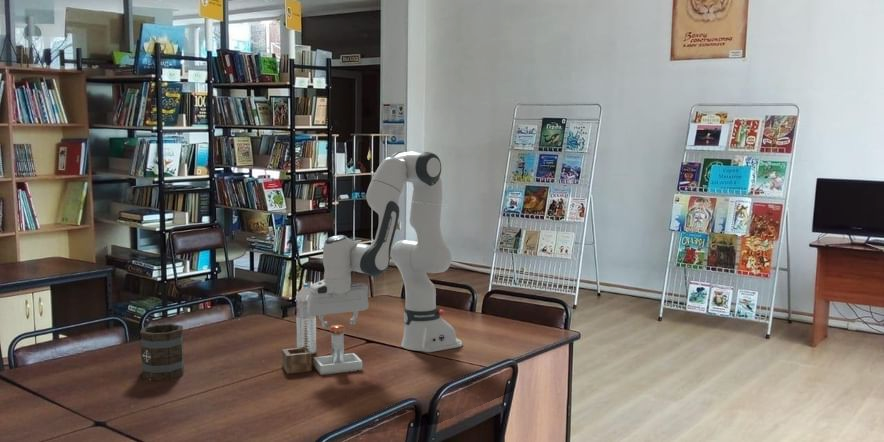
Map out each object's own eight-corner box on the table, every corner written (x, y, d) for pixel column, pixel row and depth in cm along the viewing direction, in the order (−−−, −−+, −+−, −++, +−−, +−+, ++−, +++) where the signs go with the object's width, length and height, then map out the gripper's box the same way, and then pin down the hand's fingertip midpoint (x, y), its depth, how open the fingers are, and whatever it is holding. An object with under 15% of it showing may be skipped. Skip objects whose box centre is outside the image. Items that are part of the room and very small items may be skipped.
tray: (354, 361, 264) (354, 353, 263) (362, 370, 254) (362, 361, 254) (313, 366, 258) (313, 357, 258) (320, 374, 249) (320, 365, 249)
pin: (343, 363, 259) (342, 324, 258) (347, 367, 255) (346, 327, 253) (329, 365, 258) (328, 325, 256) (332, 369, 253) (331, 329, 252)
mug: (191, 375, 247) (189, 330, 246) (147, 383, 240) (146, 336, 238) (172, 360, 263) (170, 318, 261) (131, 367, 255) (129, 323, 254)
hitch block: (306, 364, 260) (305, 346, 260) (311, 371, 253) (311, 353, 252) (282, 366, 257) (282, 349, 257) (286, 373, 250) (286, 355, 249)
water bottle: (312, 356, 269) (311, 286, 266) (293, 355, 271) (292, 285, 268) (319, 350, 276) (318, 282, 273) (301, 349, 277) (300, 281, 274)
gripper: (365, 280, 260) (366, 319, 262) (305, 286, 252) (306, 326, 254) (370, 283, 254) (371, 324, 256) (309, 290, 246) (311, 331, 248)
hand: (338, 325), depth 255 cm, fingers open, 8 cm apart
